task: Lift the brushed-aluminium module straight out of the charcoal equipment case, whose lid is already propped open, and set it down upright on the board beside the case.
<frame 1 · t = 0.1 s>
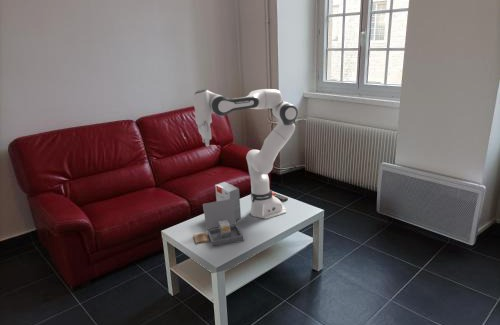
hand: (205, 144, 202), 48 cm above the table, fingers open, 8 cm apart
lid: (219, 213, 204), point 10 cm above the table, hinge at 112.0°
hard drive box: (229, 216, 223), on the table
board: (201, 238, 198), on the table
module: (225, 236, 197), point 1 cm above the table, touching case
case: (225, 237, 197), on the table
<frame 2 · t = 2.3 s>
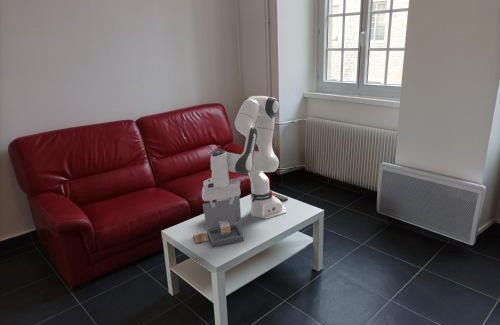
hand: (222, 205, 191), 19 cm above the table, fingers open, 8 cm apart
nothing on the table moved.
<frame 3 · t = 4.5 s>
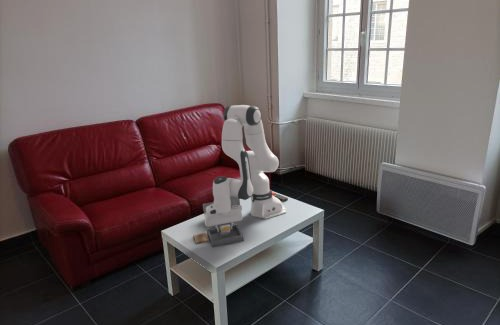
hand: (224, 230, 196), 5 cm above the table, fingers closed on module, 5 cm apart
module: (225, 236, 197), point 1 cm above the table, touching case, gripper
everything else where it was.
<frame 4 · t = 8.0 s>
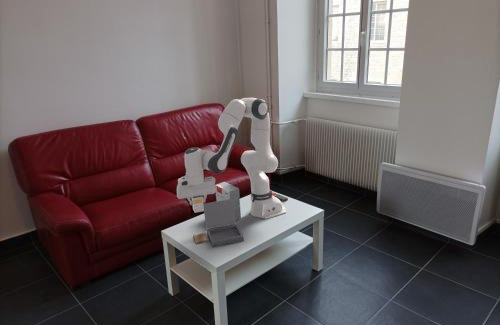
hand: (197, 203, 191), 21 cm above the table, fingers closed on module, 5 cm apart
module: (198, 209, 192), point 18 cm above the table, touching gripper
everything else where it was.
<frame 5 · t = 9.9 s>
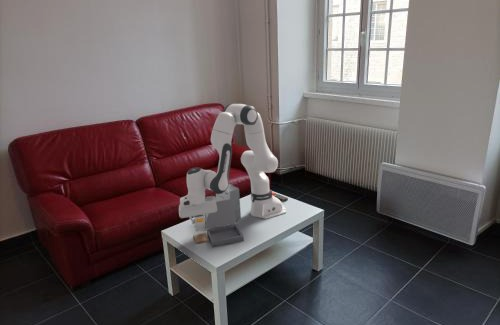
hand: (199, 222, 195), 10 cm above the table, fingers closed on module, 5 cm apart
module: (199, 228, 196), point 7 cm above the table, touching gripper
everything else where it was.
when the fingers open (7 cm above the table, at t = 11.5 s): module drops 2 cm, resting on board.
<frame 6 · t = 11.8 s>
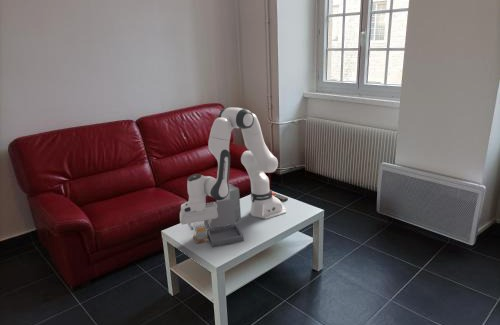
hand: (200, 228, 196), 7 cm above the table, fingers open, 8 cm apart
module: (201, 237, 197), point 1 cm above the table, touching board
everything else where it was.
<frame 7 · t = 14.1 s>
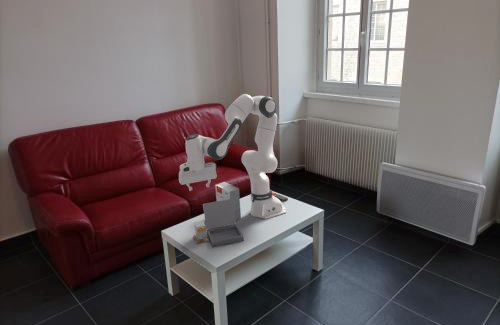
hand: (199, 188, 197), 26 cm above the table, fingers open, 8 cm apart
nothing on the table moved.
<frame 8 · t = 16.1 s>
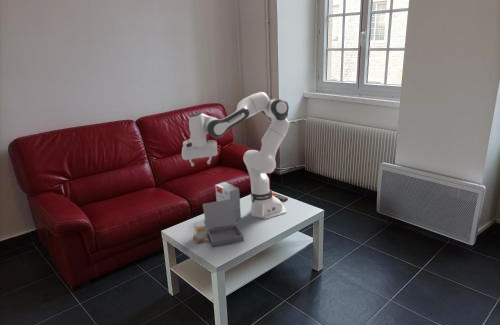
hand: (200, 164, 209), 35 cm above the table, fingers open, 8 cm apart
nothing on the table moved.
at the end: module inside the target area on the board (0.0 cm from its centre), point 1.0 cm above the board's base; module tilted 0°; lid at +112° (first picture: +112°) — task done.
